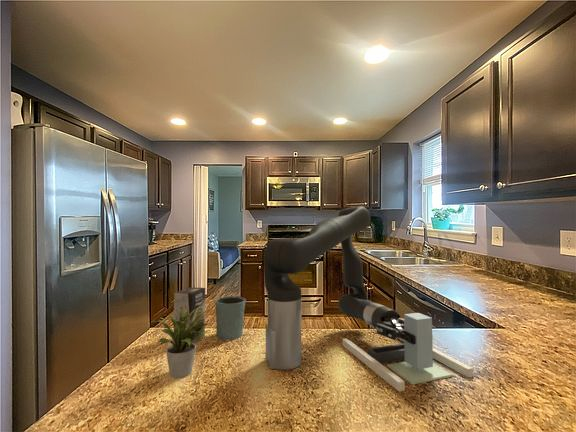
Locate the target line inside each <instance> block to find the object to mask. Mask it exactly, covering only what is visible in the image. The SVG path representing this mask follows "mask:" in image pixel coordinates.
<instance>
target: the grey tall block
mask: <svg viewBox="0 0 576 432" xmlns="http://www.w3.org/2000/svg"><path fill="white" fill-rule="evenodd" d="M403 319H404V331H407V332H409V333H411V334H413V335H415V337H416V344H413V345H412V344H411V343H409V342H407V341H405V340H404V342H403V343H404V350H405V360H404V362H407V363H408V364H410V365H411V366H413V367H414V368H416V369H417V370H419V369H424V368H430V367H433V364H434V360H433V359H434V358H433V348H434V347H433V341H432V336H433V318H432V317H430V316H429V315H425V314H423V313H420V312H414V313H413V312H412V313H405V314H404V313H403Z"/></svg>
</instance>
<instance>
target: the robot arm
mask: <svg viewBox="0 0 576 432" xmlns="http://www.w3.org/2000/svg"><path fill="white" fill-rule="evenodd" d="M371 219H372V217H371V214H370V211H369V210H368V209H367V208H366V207H364V206H359V205H358V206H353V207H347V208H346V207H345V208H342V209H340V211H339V212H338V216H333V217H331V218H327V219H324V220H322V221H319V222H318V223H316V224H314V225H313V226H312V227H311V228H310V231H309V235H307V236H304V237H301V238H294V239H293V238H273V239H271V240H269V242H268V243H267V244H266V245H265V249H264V253H263V272H264V273H263V274H264V287H265V290H266V293H267V323H266V324H265V361H266V363H267V365H268V367H269V369H270V370H280V371H281V370H283V371H286V370H293V369H296V368H298V367H299V366H301V364H302V356H303V355H302V354H303V352H302V288H301V286H299V285H298V284H297V283H295V282H294V281H293V280H292V279H291V277H290V276H289V274H291V275H293V274H299V273H301V272H302V271H304V270H305V269H306V268H308V267H309V265H311V264H312V263H313V262H314V261H315V260H316V259H317V258H319V257H320V256H322V255H324V254H325V253H326V252H327V251H330V250H332V249H333V248H335V247H336V246H338V245H340V244H341V246H340V247H341V251H342V260H343V284H344V286H345V287H347V288H350V289H352V291H353V292H354V293H345V294H342V295H341V296H340V297H339V299H338V308H339V310H340V312H341V313H343V314H344V316H345V315H346V316H347V317H351V318H354V319H356V320H357V319H358V320H360V321H362V322H364V323H365V324H368V325H369V326H370V327H371V328H372V329H375V330H376V334H378V335H380V336H383V337H385V338H388V339H391V340H394V341H396V340H397V339H398V338H399V339H398V340H399V341H401V340H405V341H407V342H409V343H411V344H412V345H413V344H416V337H415V335H413V334H411V333H409V332H407V331H404V317H403V318H402V317H401V315H400V314H399V312H397V311H396V310H394V309H392V308H390V307H388V306H385V305H382V304H380V303H376V302H373V301H371V300H369V298H368V295H367V292H366V288H365V284H364V268H363V267H364V266H363V260H362V258H361V256H360V255H359V253H358V252H357V249H356V248H355V246H354V244H353V241H352V236H353V235H355V234H357V233H359V232H362V231H365V230H367V228H368V227H369V226H370V224H371ZM432 342H433V335H432Z"/></svg>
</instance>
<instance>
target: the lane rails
mask: <svg viewBox="0 0 576 432" xmlns="http://www.w3.org/2000/svg"><path fill="white" fill-rule="evenodd" d="M397 339H398V340H400V339H399V338H397ZM400 341H401V342H403V343H404V340H400ZM342 346H343V347H344V348H345V349H346V350H348V351H349V352H350V353H351V354H352V355H354V356H355V357H356V358H357V359H358V360H360V361H361V362H362V363H363V364H365V365H366V366H367V367H369V368H370V369H371V370H372V371H373V372H374V373H376V375H378V376H379V377H380V378H382V380H384V381H385V382H387V383H388V384H389V385H390V386H391V387H393V388H394V389H395V390H397V392H404V391H406V386H405V381H406V380H403V378H402V377H399V375H398V374H396V373H395V372H394V371H392V370H391V369H390V368H389V369H388V367H386V366H384V365H383V363H379V362H378V361H377V360H375V359H374V358H373V357H371V356H370V355H368V352H366V351H364V350H363V349H362V348H360V347H359V346H358V345H356V344H355V343H354V342H353V341H351V340H350V339H348V338H342ZM432 348H433V359H434V360H436V361H438V362H439V363H441V364H443V365H444V366H447V367H448V368H450V369H452V370H454V371H456V372H457V373H459V374H461V375H463V376H465V377H467V378H472V377H473V376H474V375H473V372H474V371H473V367H471V366H469V365H467V364H465V363H463V362H461V361H460V360H457V359H455V358H453V357H451V356H449V355H448V354H446V353H443V352H442V351H440V350H439V349H436V348H434V347H432Z"/></svg>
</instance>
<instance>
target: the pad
mask: <svg viewBox="0 0 576 432" xmlns="http://www.w3.org/2000/svg"><path fill="white" fill-rule="evenodd" d="M386 366H387V367H386V368H389V370H390V371H392V372H393V373H394V374H396V375H397V376H398V377H399V376H400V378H401V379H404V381H406V382H408V383H409V385H410V384H411V385H417V384H422V383H427V382H432V381H437V380H442V379H447V378H452V377H453V374H452V373H451V372H449V371H447V370H445V369H444V368H442V367H440V366H438V365H437V364H435V363H433V367H430V368H424V369H419V370H417V369H416V368H414V367H413V366H411V365H410V364H408V363H407V362H405V361H401V362H400V361H399V362H395V363H389V364H386Z"/></svg>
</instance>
